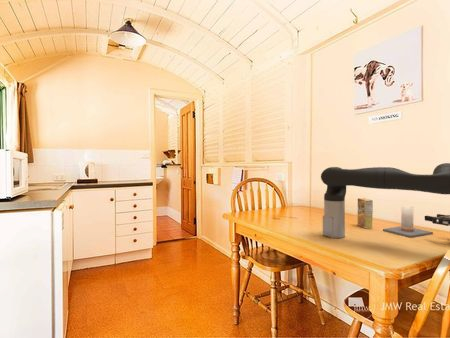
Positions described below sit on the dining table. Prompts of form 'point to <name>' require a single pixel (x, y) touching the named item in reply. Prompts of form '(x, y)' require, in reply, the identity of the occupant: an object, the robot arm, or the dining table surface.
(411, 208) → the white cylindrical lamp
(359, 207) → the candy box
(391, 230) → the mat
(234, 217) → the dining table surface
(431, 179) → the robot arm
